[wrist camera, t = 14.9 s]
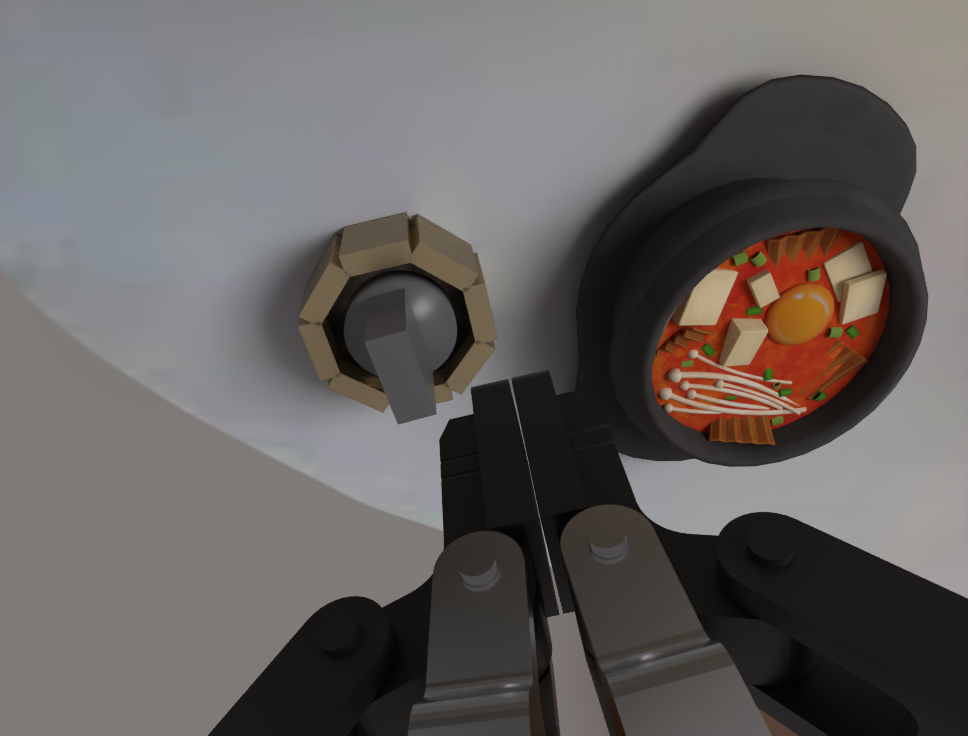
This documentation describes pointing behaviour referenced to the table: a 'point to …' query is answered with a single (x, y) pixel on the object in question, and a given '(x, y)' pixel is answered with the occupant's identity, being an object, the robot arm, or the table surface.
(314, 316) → the octagonal wooden ring
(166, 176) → the table surface
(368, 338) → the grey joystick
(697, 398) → the casserole
